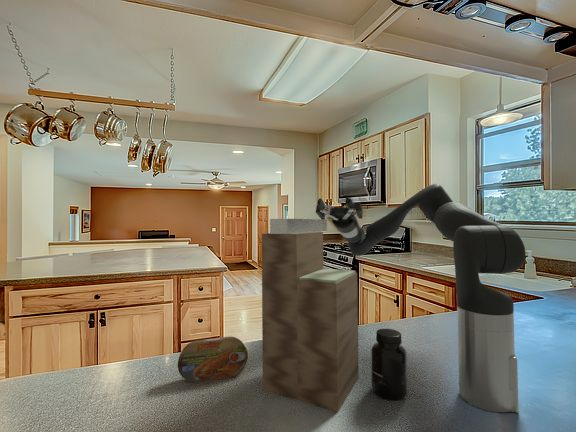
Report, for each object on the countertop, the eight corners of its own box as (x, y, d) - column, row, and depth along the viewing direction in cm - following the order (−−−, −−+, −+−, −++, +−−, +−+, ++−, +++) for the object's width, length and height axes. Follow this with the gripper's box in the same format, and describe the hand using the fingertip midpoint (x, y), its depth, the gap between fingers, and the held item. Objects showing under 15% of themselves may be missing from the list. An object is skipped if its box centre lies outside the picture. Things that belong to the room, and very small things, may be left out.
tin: (177, 385, 66) (177, 345, 66) (178, 378, 69) (178, 339, 69) (248, 375, 70) (248, 337, 70) (246, 369, 73) (246, 333, 73)
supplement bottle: (368, 396, 61) (367, 334, 61) (375, 380, 67) (374, 324, 67) (405, 405, 58) (403, 340, 58) (409, 388, 64) (408, 329, 64)
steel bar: (327, 231, 81) (326, 219, 81) (287, 233, 61) (287, 218, 62) (312, 230, 83) (312, 219, 83) (269, 233, 63) (269, 218, 63)
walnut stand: (358, 377, 68) (356, 232, 69) (337, 412, 56) (335, 234, 57) (293, 363, 76) (292, 231, 77) (262, 390, 63) (261, 233, 64)
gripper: (366, 233, 102) (355, 210, 89) (325, 233, 108) (308, 212, 95) (368, 212, 105) (357, 187, 92) (328, 214, 111) (312, 191, 98)
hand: (332, 200), depth 93 cm, fingers open, 8 cm apart
